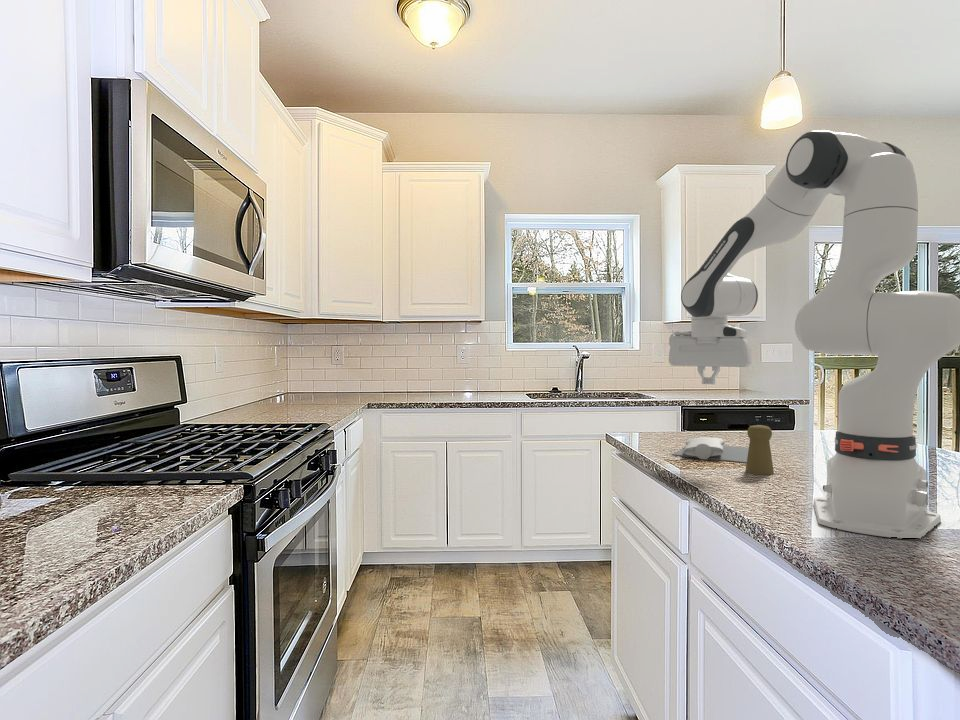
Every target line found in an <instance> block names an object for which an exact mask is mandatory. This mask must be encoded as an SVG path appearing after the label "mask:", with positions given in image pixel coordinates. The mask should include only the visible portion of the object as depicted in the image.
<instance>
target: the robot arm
mask: <svg viewBox="0 0 960 720" xmlns="http://www.w3.org/2000/svg"><path fill="white" fill-rule="evenodd" d="M916 179H917V178H916V174H915V169H914V165H913V163H912V161H911V160H910V159H909V158H908V157H907V155H906V153H905V152H904V150H902V149H901V148H899V147H897V146H896V145H894V144H892V143H890V142H885V141H882V142H881V141H878V140H875V139H872V138H868V137H864V136H861V135H859V134H854V133H853V134H852V133H847V132H835V131H834V132H833V131H831V130H825V129H824V130H823V129H822V130H819V129H818V130H811V131H808V132H805V133H803V134H802V135H800V136H799V137H798V138H797V139H796V140H795V141H794V143H793V144H792V146H791V147H790V149H789V151H788V153H787V156H786V161H785V164H784V165H782V168H780V170H779V171H778V172H777V173H776V175H775V177H774V178H773V180H772V181H771V182H770V184H769V185H768V188H767V189H766V190H765V192H764V194H763V196H762V197H761V198H760V200H759V201H758V202H757V204H756V205H754V207H753V208H752V209H751V210H750V211H749V212H748V213H746V215H744V216H742V217H741V218H740V219H739V220H737V221H735V223H733V224H732V225H731V226H730V228H729V229H728V230H727V231H726V233H724V235H723V237H722V238H721V239H720V241H719V242H718V243H717V244H716V246H715V247H714V248H713V250H712V252H711V253H710V254H709V256H708V257H707V259H706V260H705V261H704V262H703V264H701V266H700V268H699V269H698V270H697V271H696V272H695V273H694V274H692V275H691V277H689V278H688V280H687V281H686V282H685V284H684V286H683V287H682V289H681V293H680V301H681V303H682V306H683V308H684V309H685V310H686V312H687V313H689V314H690V316H691V319H690V322H691V323H690V325H691V326H690V328H691V329H690V330H689V331H687V330H686V331H675V332H674V333H672V334H671V335H670V336H669V338H668V339H669V340H668V344H669V345H668V346H669V350H668V351H669V352H668V363H669V364H670V366H671V367H673V366H674V367H697V372H698V374H699V376H700V377H701V384H702V385H716V377H718V375H719V373H720V371H721V369H720V368H721V367H723V368H724V367H725V368H726V367H727V368H730V367H731V368H748V367H750V366H751V364H752V361H753V360H752V350H751V349H752V348H751V345H750V342H749V340H748V339H746V338H747V335H748V332H747V330H746V329H745V328H741V327H737V326H735V325H733V324H728V317H743V316H747V315H749V314H751V313H752V312H753V311H754V310H755V308H756V306H757V303H758V298H759V292H758V289H757V286H756V284H755V283H754V282H753V281H752V280H751V279H749V278H745V277H742V276H736V275H734V274H731V273H730V271H731V270H732V269H733V268H734V267H735V265H736V264H737V263H738V262H739V260H740V259H742V257H744V256H746V255H747V254H749V253H751V252H752V251H755V250H758V249H761V248H764V247H769V246H772V245H777V244H782V243H785V242H789V241H791V240H793V239H795V238H796V237H797V236H799V235H800V234H801V233H802V232H803V231H804V230H805V228H806V227H807V226H808V225H809V223H811V220H812V219H813V217H814V215H815V214H816V212H817V211H818V209H819V208H820V206H821V204H822V202H823V201H824V200H825V198H826V197H827V196H828V195H829V194H832V195H834V196H841V197H843V198H844V208H843V220H842V221H843V223H842V224H843V227H842V239H841V240H842V241H841V246H840V247H841V248H840V254H839V255H840V256H839V259H838V263H837V266H836V268H835V270H834V273H833V274H832V275H831V277H830V279H829V281H828V282H827V284H825V285H824V287H823V288H822V289H821V290H820V291H819V292H818V293H817V294H816V295H815V296H813V297H812V298H810V299H809V300H808V301H806V302H805V303H804V304H803V305H802V306H801V307H800V309H799V310H798V312H797V314H796V318H795V321H794V331H795V334H796V337H797V340H798V341H799V343H800V344H801V346H802V347H804V349H806V350H807V351H812V352H816V353H820V354H821V353H822V354H825V355H833V356H834V355H835V356H840V355H841V356H876V357H877V363H876V366H875V367H874V369H873V370H871V371H869V372H866V373H864V374H861V375H859V376H856V377H855V378H852V379H850V380H849V381H847V382H846V383H844V384H843V386H842V387H841V388H840V390H839V392H838V406H837V407H838V415H837V416H838V417H837V418H838V421H837V425H838V427H837V429H838V430H836V431H835V437H834V451H835V452H836V453H835V454H834V455H833V456H832V457H831V458H829V459H827V461H826V484H825V483H824V484H823V485H822V491H823V492H825V493H826V497H825V496H823V497H815V498H813V507H814V510H815V516H816V519H817V523H818V524H820V525H822V526H825V527H829V528H833V529H836V528H837V530H840V531H841V530H842V531H847V532H852V533H856V534H863V535H870V536H877V537H885V538H891V537H897V538H896V539H902V538H920V539H922V538H923V537H924V536H926V535H927V534H928V533H929V532H930V531H931V530H933V528H935V527H936V526H937V525H938V524H939V523H941V521H942V520H941V515H940V513H937V512H934V511H930V510H928V508H927V507H928V505H929V494H928V492H927V489H928V488H929V483H928V480H927V470H926V469H925V468H923V466H921V465H920V464H919V463H918V462H917V460H916V459H915V458H916V456H917V444H918V443H917V439H916V436H915V435H914V431H913V430H914V412H915V401H916V395H917V391H918V388H919V386H920V383H921V381H922V379H923V377H925V374H926V373H927V372H928V371H929V369H930V368H931V367H933V365H934V364H935V363H936V362H938V361H939V360H940V359H941V358H943V357H944V356H946V355H947V354H949V353H951V352H953V351H954V350H955V349H957V348H958V347H959V346H960V298H959V297H957V296H956V295H955V294H953V293H947V292H939V291H928V290H927V291H926V290H910V291H909V290H908V291H907V290H906V291H890V292H875V290H876V288H877V286H878V285H879V283H880V282H881V281H882V280H883V279H885V278H886V277H888V276H890V275H893V274H894V273H896V272H898V271H900V270H902V269H903V268H905V267H906V266H908V265H909V264H910V263H911V262H912V260H913V259H914V258H915V256H916V254H917V248H918V247H917V245H918V221H919V219H918V218H919V198H918V185H917V180H916ZM706 367H711V370H712V371H713V373H712V375H711V376H710V377H709V376H708V377H707V376H706V374H705V372H704V371H706ZM934 526H935V527H934ZM928 531H929V532H928ZM927 532H928V533H927ZM926 533H927V534H926ZM922 536H923V537H922ZM921 537H922V538H921Z"/></svg>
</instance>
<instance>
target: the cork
mask: <svg viewBox="0 0 960 720" xmlns="http://www.w3.org/2000/svg"><path fill="white" fill-rule="evenodd" d="M746 432H747V433H746V434H747V436H748V438H749V442H748V443H749V444H748V448H749V450H748V457H747V463H745V464H746V465H745V472H746V473H748V474H751V475H758V476H770V475H774V474H775V472H774V465H773V458H772V450H771V444H770V443H771V442H770V440H771V438H772V435H773V431H772V429H771V428H770V427H769V426H768V425H763V424H756V425H754V424H753V425H750V426H749V427H748V428H747V431H746Z"/></svg>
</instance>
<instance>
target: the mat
mask: <svg viewBox="0 0 960 720" xmlns="http://www.w3.org/2000/svg"><path fill="white" fill-rule="evenodd" d="M722 446H723V453H722V454H721V455H716V456H710V457H709V458H707V459H706V460H713V461H720V462H721V461H722V462H731V463H739V464H740V463H741V464H747V457H748V450H749V447H745V446H735V445H725V444H724V445H722ZM684 449H685V447H684V448H682V449H680V450H677V451H675V452H673V453H671V456H675V457H683V458H693V459H699V458H698V457H697V456H690V455H686V454H684V452H683V451H684Z"/></svg>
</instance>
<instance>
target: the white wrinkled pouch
mask: <svg viewBox="0 0 960 720" xmlns="http://www.w3.org/2000/svg"><path fill="white" fill-rule="evenodd" d="M684 443H685V447H684V448H685V449H684V448H683V449H684V451H683V452H684V454H686V455H690V456H697V457H698V458H697V459H700V460H708V459H707V458H709V457H710V456H716V455H721V454H722V453H723V446H722V445H725V444H726V441H725V439H722V438H720V437H713V436H712V437H710V436H702V437H701V436H698V437H694V438H689V439H687V440H686V441H685V442H684Z"/></svg>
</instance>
